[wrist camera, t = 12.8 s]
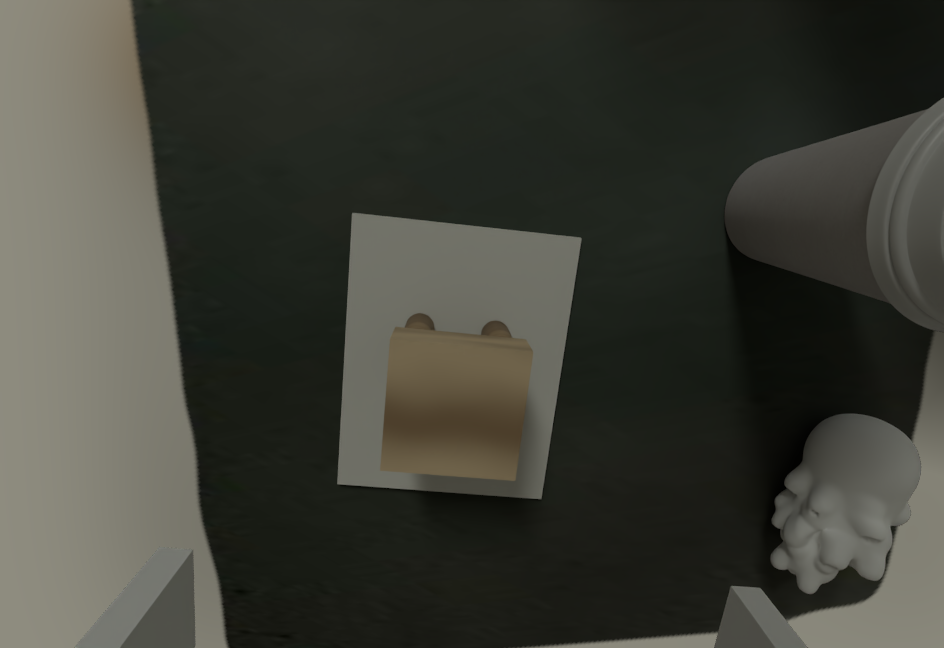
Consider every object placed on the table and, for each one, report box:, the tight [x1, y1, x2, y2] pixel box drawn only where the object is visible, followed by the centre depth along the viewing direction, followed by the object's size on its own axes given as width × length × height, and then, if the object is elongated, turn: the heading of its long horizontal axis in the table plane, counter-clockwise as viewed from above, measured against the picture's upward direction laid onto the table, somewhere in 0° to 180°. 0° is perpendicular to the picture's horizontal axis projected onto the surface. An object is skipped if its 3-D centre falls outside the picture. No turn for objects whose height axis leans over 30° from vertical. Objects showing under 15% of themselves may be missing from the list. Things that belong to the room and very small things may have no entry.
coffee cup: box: [724, 98, 944, 332], centre depth 24 cm, size 10×10×15 cm
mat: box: [337, 213, 582, 499], centre depth 33 cm, size 18×14×1 cm
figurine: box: [770, 414, 921, 594], centre depth 33 cm, size 7×7×12 cm
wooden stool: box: [380, 313, 533, 481], centre depth 29 cm, size 7×7×8 cm
